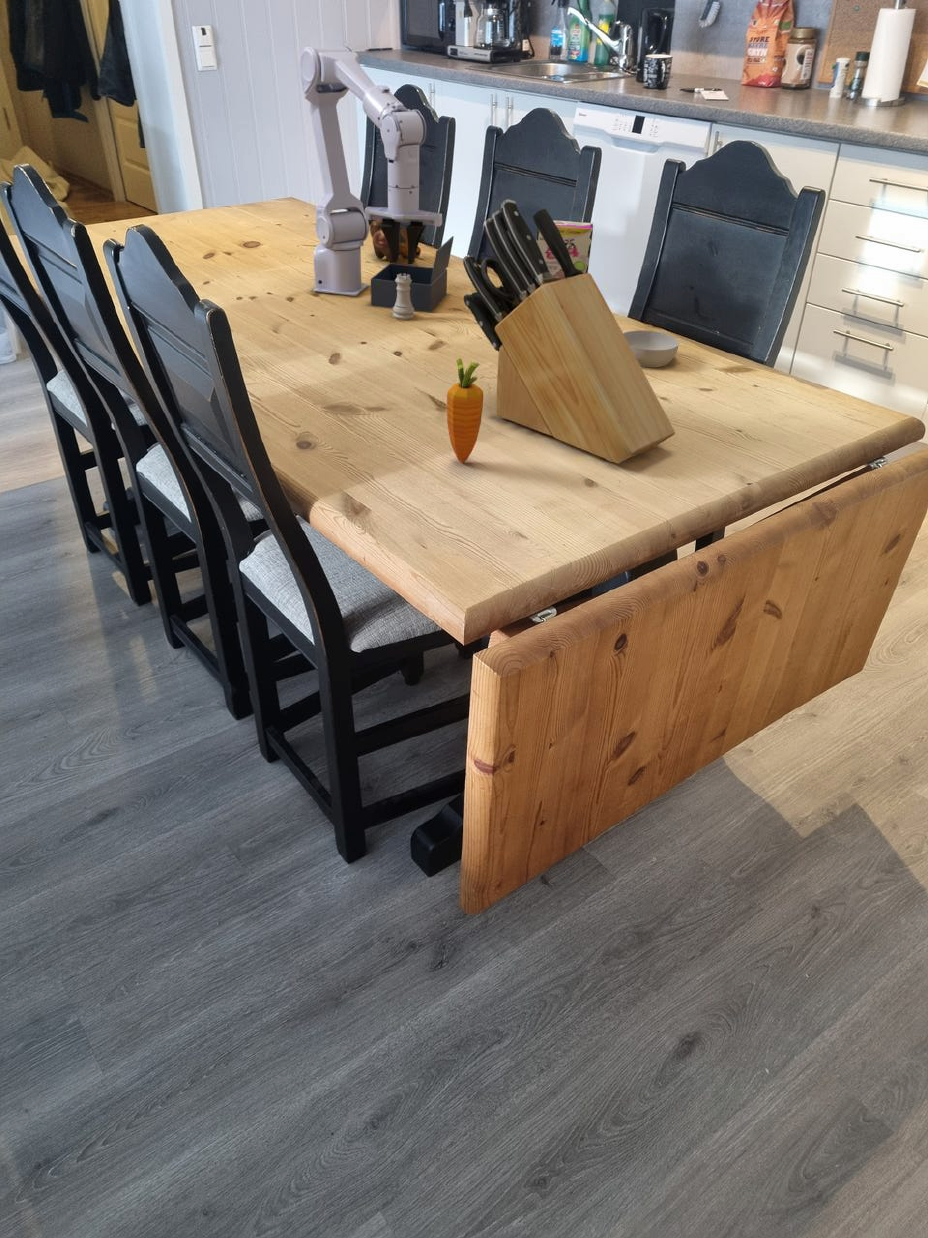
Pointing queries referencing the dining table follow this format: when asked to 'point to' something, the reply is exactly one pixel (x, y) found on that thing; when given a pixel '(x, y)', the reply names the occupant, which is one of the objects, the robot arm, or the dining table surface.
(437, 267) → the flap
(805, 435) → the dining table surface
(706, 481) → the dining table surface
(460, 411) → the carrot
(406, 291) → the rook chess piece
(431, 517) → the dining table surface
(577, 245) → the candy bar box
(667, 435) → the knife block
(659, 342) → the grey bowl
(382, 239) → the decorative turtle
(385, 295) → the carton
